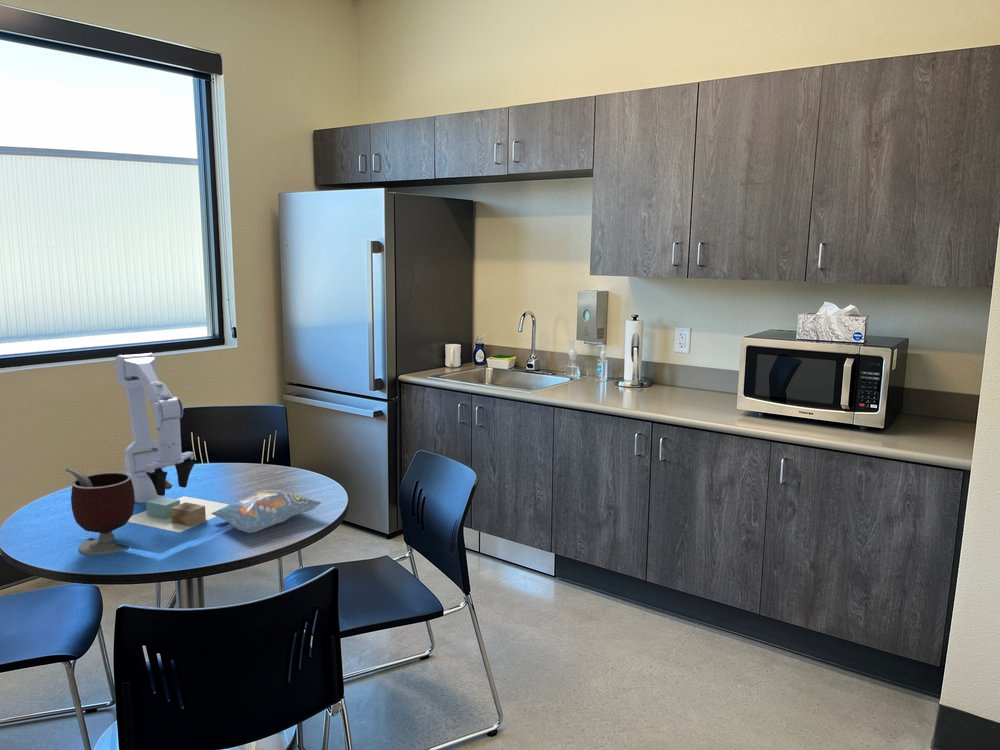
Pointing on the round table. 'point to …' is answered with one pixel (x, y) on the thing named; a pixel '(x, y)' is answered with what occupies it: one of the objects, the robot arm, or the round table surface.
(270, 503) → the packet
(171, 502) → the teal block
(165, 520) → the baseplate
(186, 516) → the walnut block
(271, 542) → the round table surface
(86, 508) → the mate gourd
